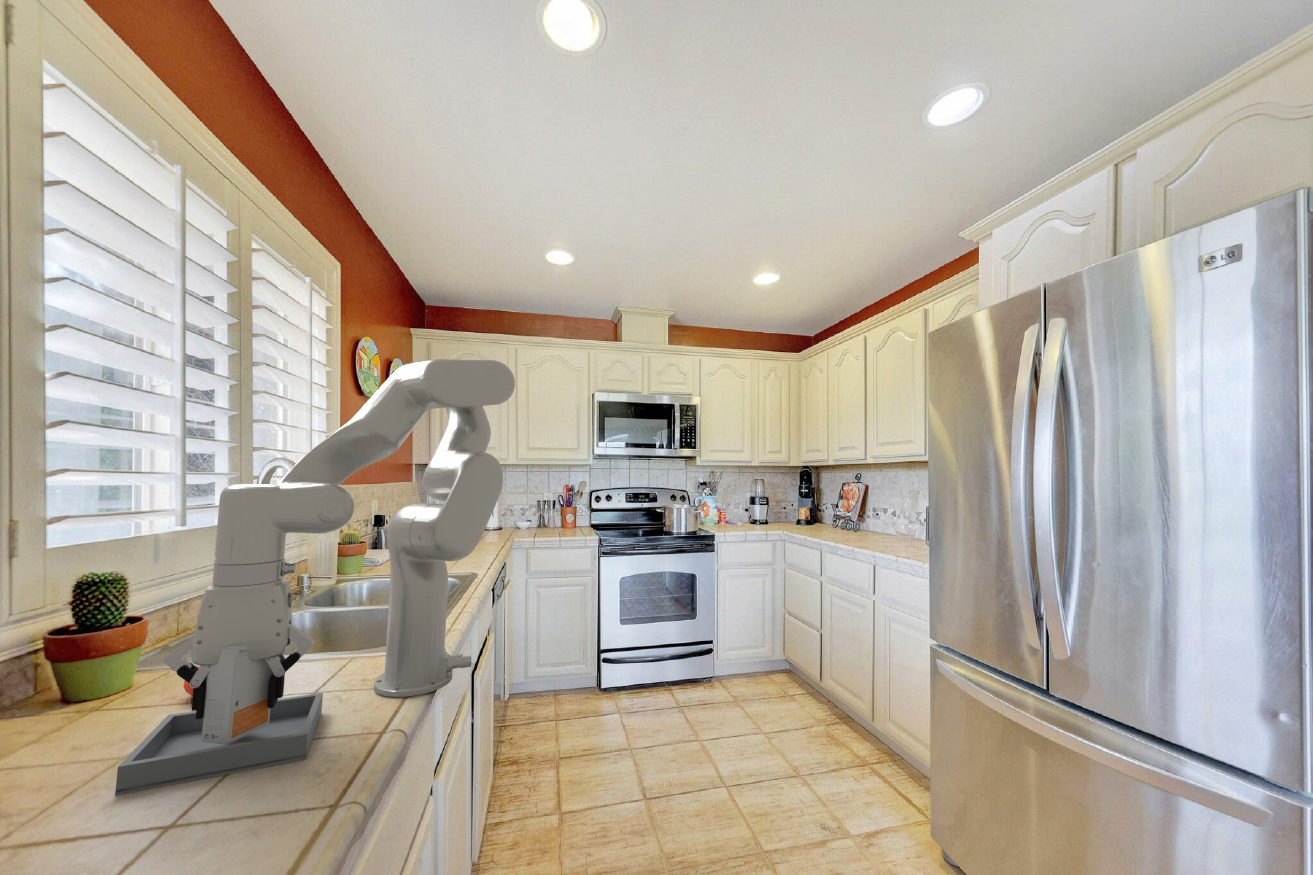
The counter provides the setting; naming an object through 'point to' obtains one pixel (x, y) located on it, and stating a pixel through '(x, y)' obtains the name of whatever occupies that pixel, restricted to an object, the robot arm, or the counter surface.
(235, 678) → the skincare box
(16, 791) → the counter surface
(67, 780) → the counter surface
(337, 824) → the counter surface
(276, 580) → the robot arm
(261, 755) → the tray
